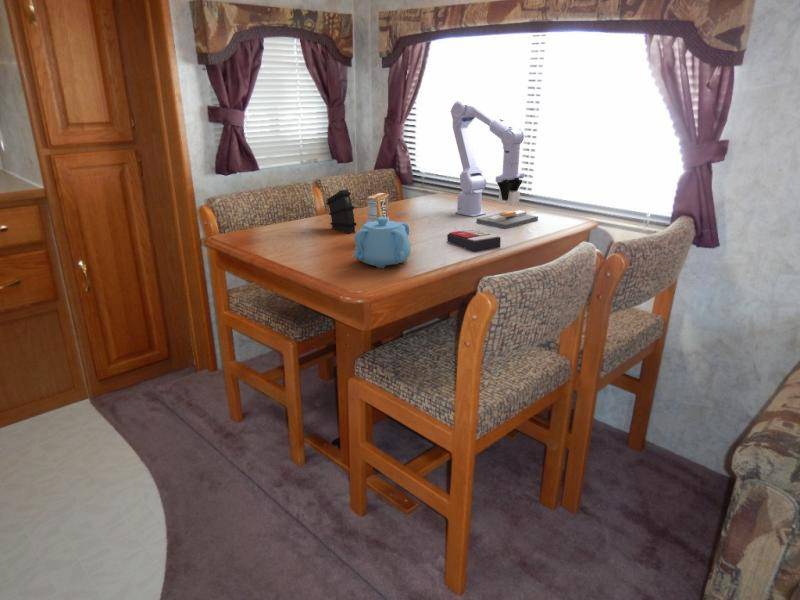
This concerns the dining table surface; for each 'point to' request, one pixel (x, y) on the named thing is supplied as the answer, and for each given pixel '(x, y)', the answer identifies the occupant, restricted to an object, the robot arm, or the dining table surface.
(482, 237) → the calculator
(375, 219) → the candy box
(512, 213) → the block
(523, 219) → the rail board
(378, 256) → the decorative pot
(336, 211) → the black ribbed block
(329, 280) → the dining table surface
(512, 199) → the block
